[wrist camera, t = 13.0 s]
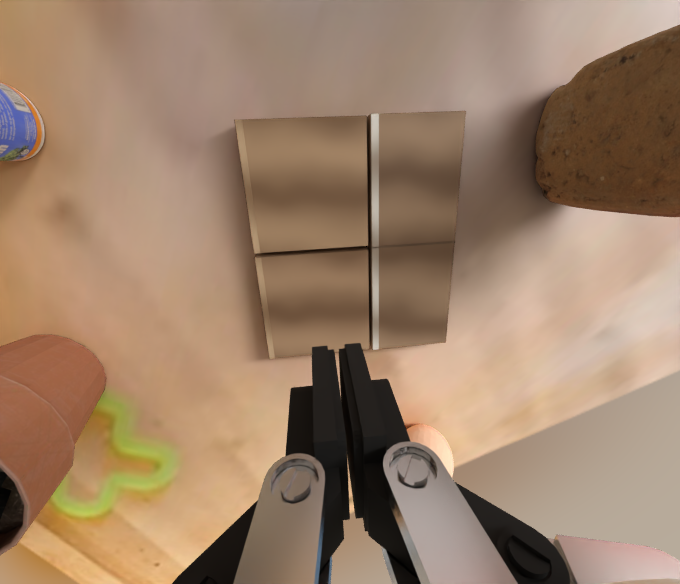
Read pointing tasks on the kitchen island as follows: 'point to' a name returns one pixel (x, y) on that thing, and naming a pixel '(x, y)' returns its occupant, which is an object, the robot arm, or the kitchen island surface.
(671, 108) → the block
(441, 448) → the egg
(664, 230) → the kitchen island surface
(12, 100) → the pill bottle
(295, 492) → the robot arm
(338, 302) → the plank
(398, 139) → the laid board
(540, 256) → the kitchen island surface
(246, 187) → the plank
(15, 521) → the potted plant
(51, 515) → the kitchen island surface
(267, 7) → the kitchen island surface
